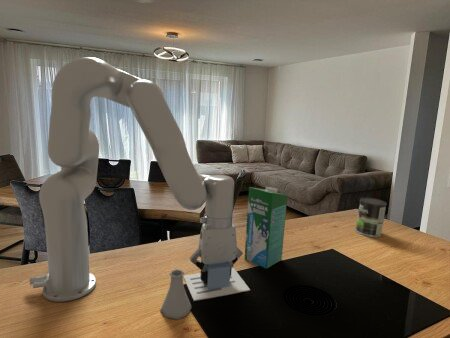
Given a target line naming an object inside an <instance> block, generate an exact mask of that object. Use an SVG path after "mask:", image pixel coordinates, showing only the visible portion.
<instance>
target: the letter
mask: <svg viewBox="0 0 450 338" xmlns="http://www.w3.org/2000/svg"><path fill="white" fill-rule="evenodd" d="M183 279H184V282H185V283H186V286H187V289H188V291H189V294H190V295H191V299H193V302H196V301H201V300H209V299H213V298H217V297H218V298H219V297H223V296H228V295H234V294H238V293H243V292H249V291H251V289H250V288H249V286H248V285H247V284H246V282H245V281H244V279H243V278H242V277H241V275H240V274H239V273H238V272H237V270H236V269H235V268H234V267H232V270H231V276H230V283H229V287H223V288H217V289H212V290H209V289H208V287H207V286H206V285H205V284H204V282H203V281H201V272H200V273H198V272H197V273H191V274H184V275H183Z"/></svg>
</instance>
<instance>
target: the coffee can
mask: <svg viewBox="0 0 450 338" xmlns="http://www.w3.org/2000/svg"><path fill="white" fill-rule="evenodd" d="M386 207H387V202H386V201H384V200H382V199H378V198H373V197H361V198H359V205H358V213H357V219H356V227H355V231H356V233H358V234H360V235H362V236H366V237H370V238H379V237H380V238H381V236H382V233H383V227H384V220H385V214H386Z"/></svg>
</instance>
